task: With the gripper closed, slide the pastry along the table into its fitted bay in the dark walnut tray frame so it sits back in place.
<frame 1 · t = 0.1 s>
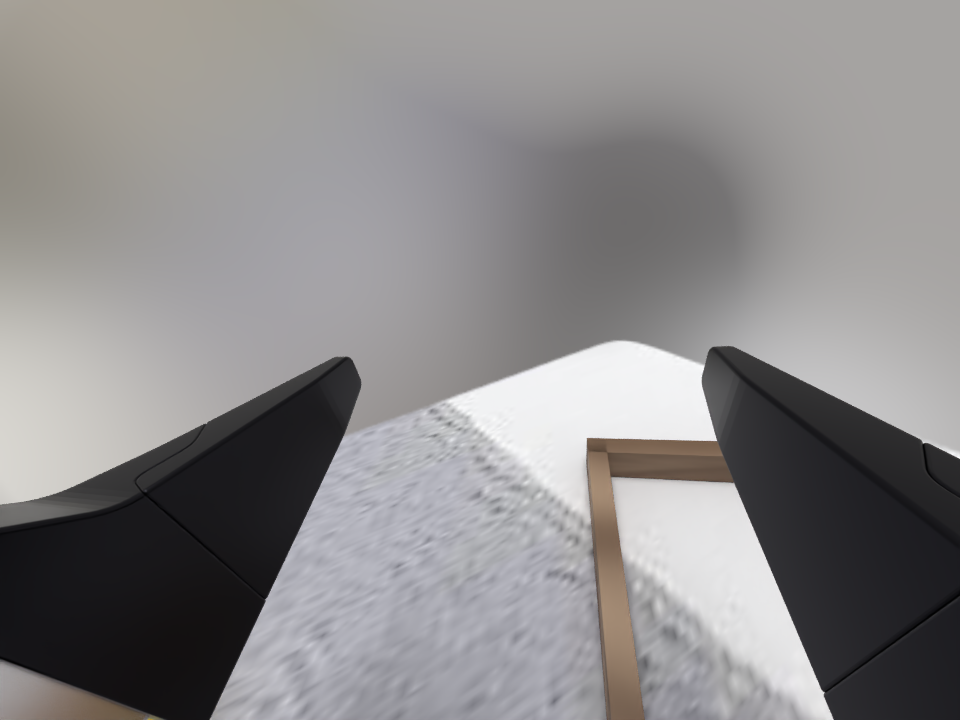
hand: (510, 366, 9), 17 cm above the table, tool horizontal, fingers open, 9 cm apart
bay: (738, 578, 18), on the table
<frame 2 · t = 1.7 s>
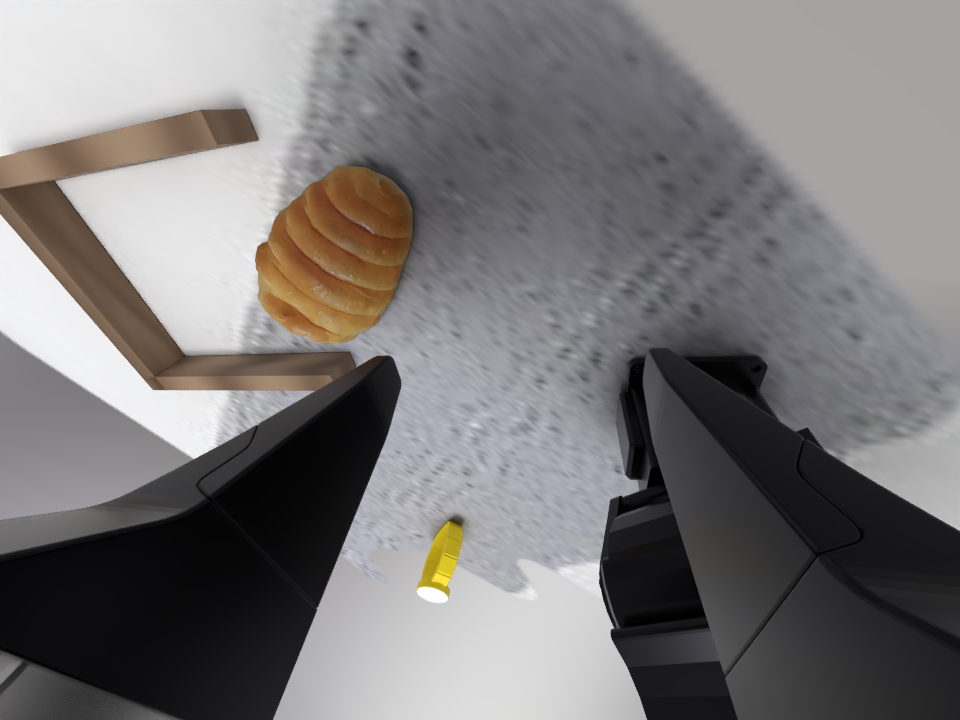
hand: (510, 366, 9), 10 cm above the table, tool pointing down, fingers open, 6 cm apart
pastry: (346, 253, 20), on the table
bay: (200, 274, 22), on the table
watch: (449, 527, 35), on the table
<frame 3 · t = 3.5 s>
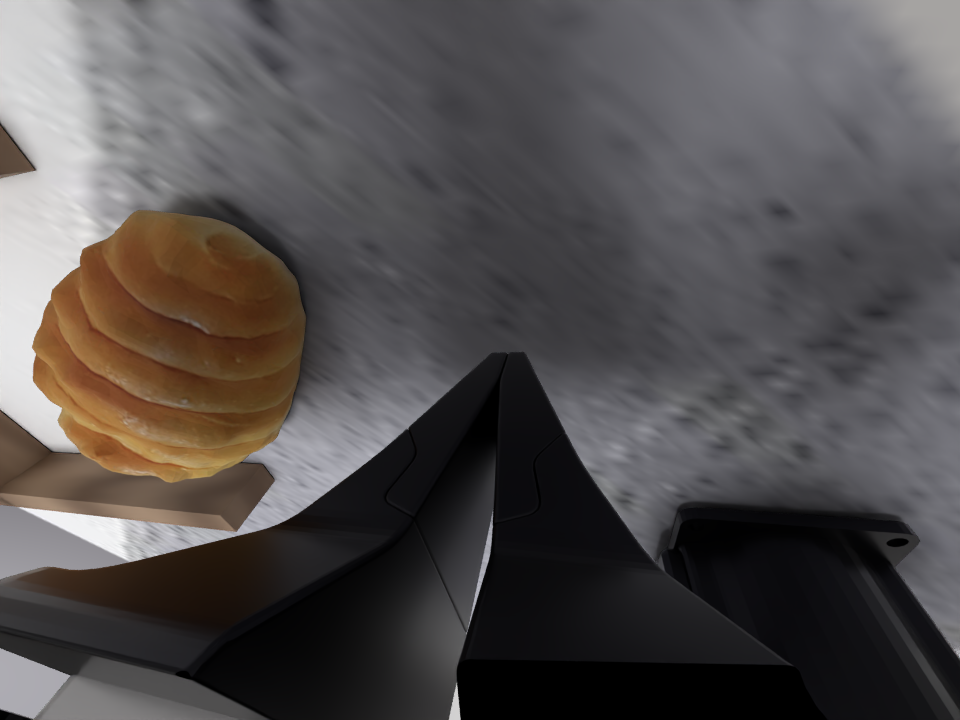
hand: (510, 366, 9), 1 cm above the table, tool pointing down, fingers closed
pastry: (218, 336, 12), on the table
bay: (30, 361, 15), on the table
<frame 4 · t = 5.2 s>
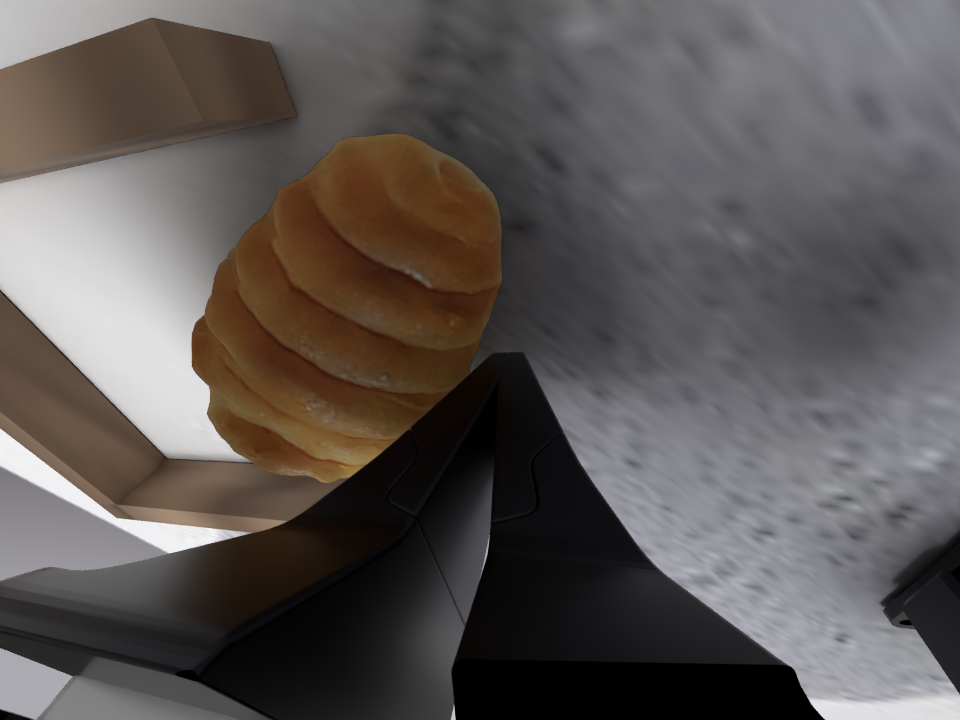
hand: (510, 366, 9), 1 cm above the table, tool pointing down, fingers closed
pastry: (366, 312, 11), on the table
bay: (184, 356, 13), on the table
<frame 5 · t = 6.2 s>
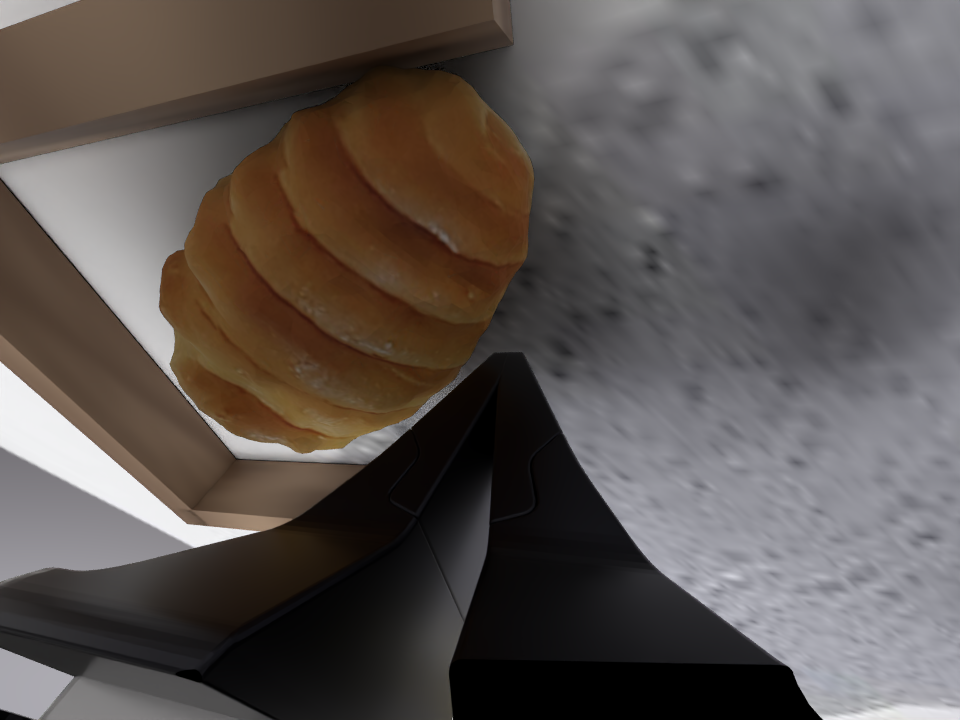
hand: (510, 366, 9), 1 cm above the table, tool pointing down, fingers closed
pastry: (363, 274, 10), on the table, touching bay, gripper
bay: (286, 346, 11), on the table
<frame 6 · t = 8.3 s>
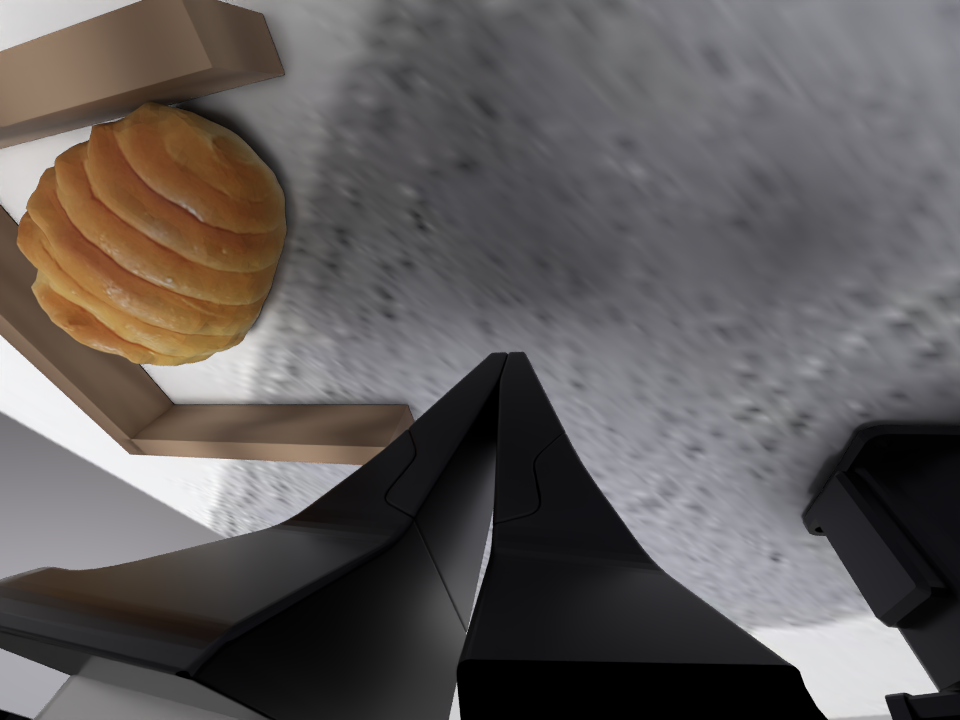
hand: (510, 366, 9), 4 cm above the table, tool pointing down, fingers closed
pastry: (198, 239, 14), on the table
bay: (191, 298, 15), on the table
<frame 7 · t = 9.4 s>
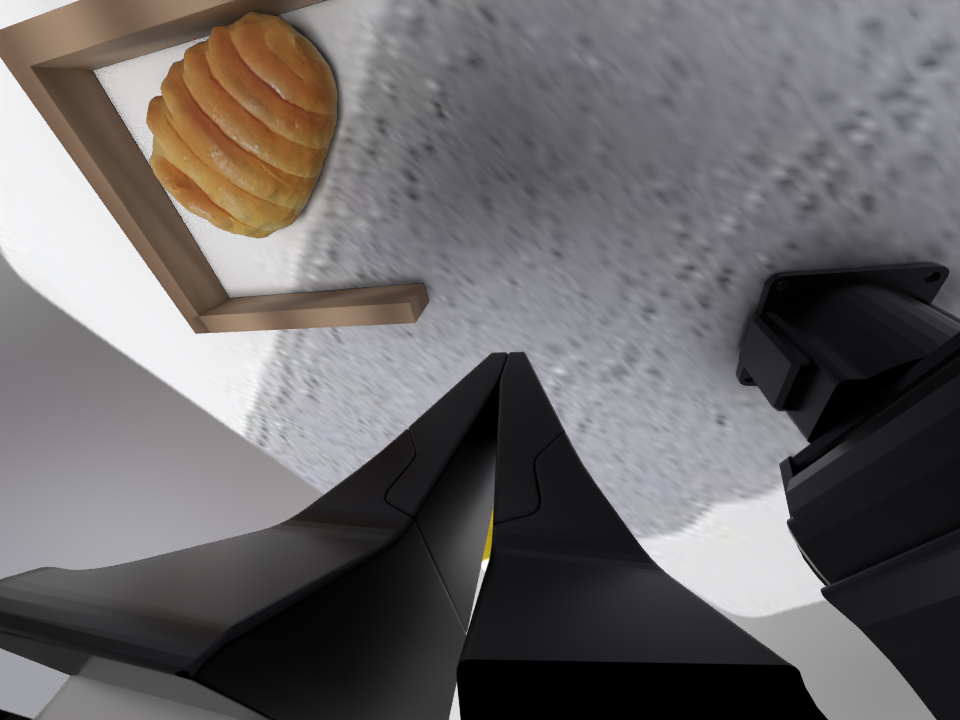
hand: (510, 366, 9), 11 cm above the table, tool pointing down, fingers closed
pastry: (265, 136, 18), on the table
bay: (257, 189, 19), on the table
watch: (507, 498, 32), on the table
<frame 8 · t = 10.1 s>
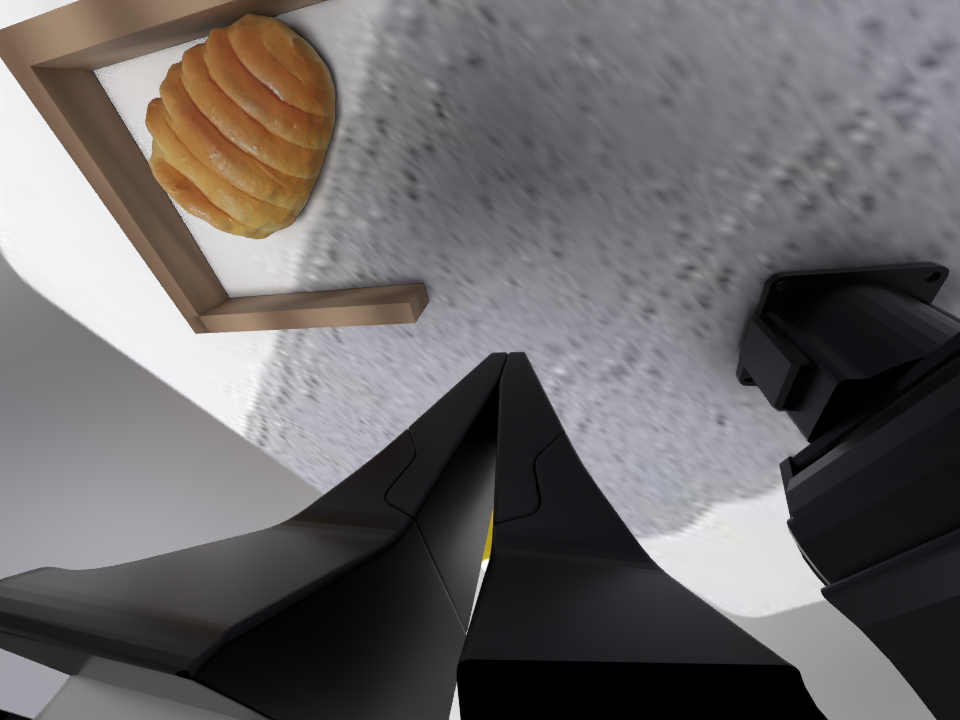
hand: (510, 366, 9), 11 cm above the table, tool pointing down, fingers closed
pastry: (263, 138, 18), on the table
bay: (257, 189, 19), on the table
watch: (507, 498, 32), on the table
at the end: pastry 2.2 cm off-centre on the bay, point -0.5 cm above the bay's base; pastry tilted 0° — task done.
